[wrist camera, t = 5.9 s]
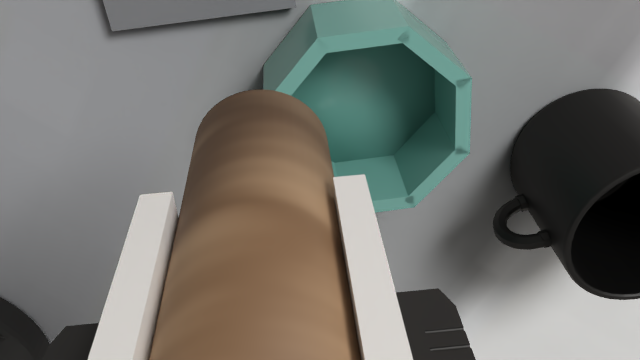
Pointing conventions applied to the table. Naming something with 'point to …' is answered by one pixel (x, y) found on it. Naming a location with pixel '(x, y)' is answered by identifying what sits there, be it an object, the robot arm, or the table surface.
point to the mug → (582, 189)
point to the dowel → (258, 242)
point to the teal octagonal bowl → (378, 95)
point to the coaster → (181, 10)
